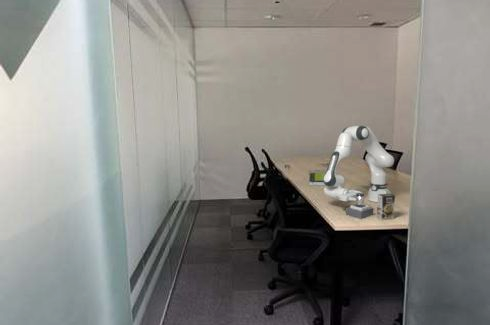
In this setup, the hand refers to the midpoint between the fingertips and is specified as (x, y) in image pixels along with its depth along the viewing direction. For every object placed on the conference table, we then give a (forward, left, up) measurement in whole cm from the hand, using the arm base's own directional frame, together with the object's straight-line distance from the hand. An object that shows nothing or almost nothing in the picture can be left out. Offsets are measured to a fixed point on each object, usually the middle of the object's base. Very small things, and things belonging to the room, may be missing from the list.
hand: (360, 198), depth 232 cm
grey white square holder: (0, 0, -12) cm, 12 cm away
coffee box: (-7, +15, -12) cm, 20 cm away
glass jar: (0, 0, -7) cm, 7 cm away
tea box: (-55, -86, -12) cm, 103 cm away
